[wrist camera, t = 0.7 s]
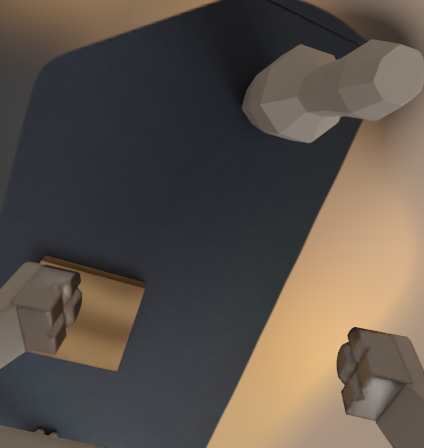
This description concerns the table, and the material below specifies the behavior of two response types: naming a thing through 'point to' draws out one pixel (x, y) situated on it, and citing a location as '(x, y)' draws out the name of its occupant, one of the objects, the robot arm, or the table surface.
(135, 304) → the coaster
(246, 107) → the low poly bottle
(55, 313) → the robot arm
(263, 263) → the table surface
